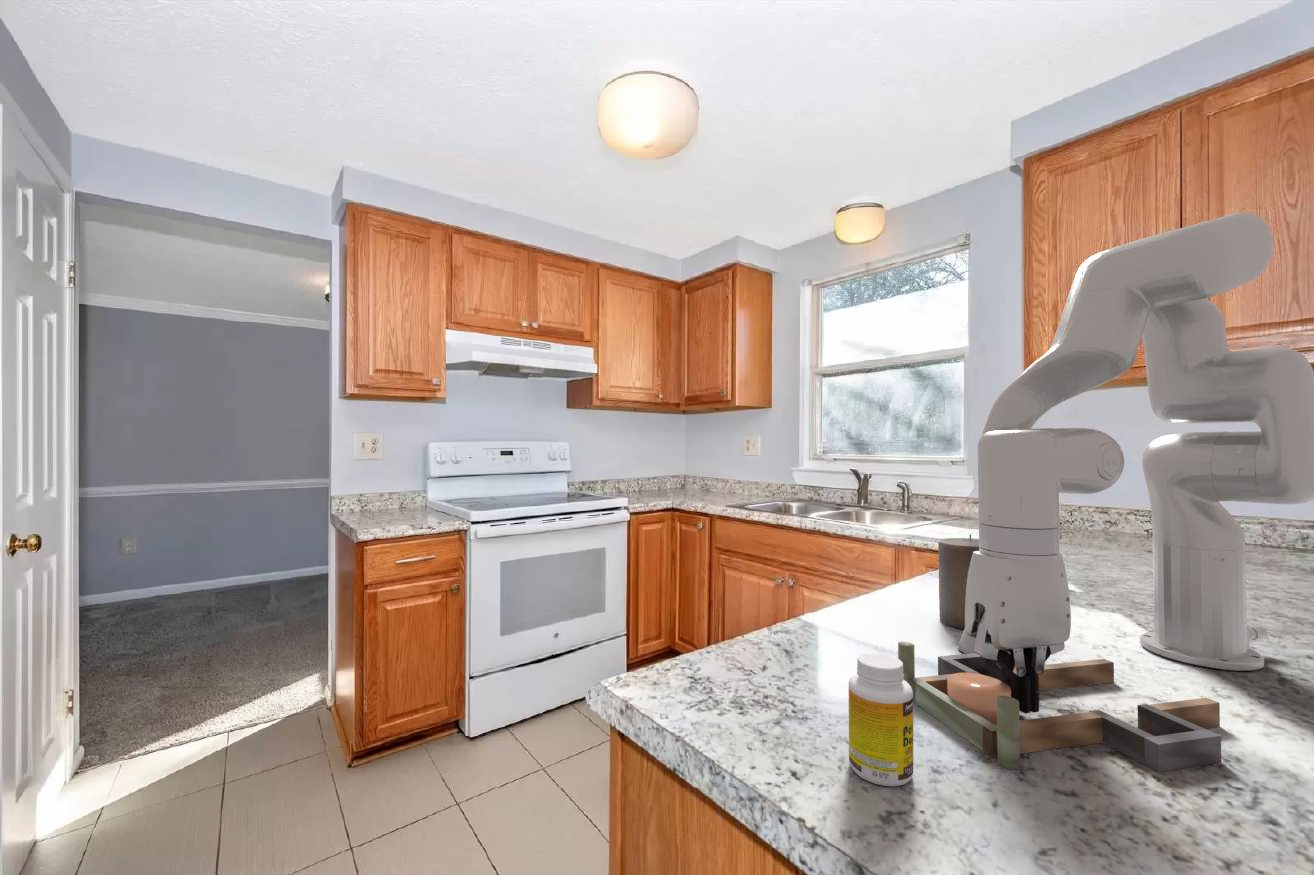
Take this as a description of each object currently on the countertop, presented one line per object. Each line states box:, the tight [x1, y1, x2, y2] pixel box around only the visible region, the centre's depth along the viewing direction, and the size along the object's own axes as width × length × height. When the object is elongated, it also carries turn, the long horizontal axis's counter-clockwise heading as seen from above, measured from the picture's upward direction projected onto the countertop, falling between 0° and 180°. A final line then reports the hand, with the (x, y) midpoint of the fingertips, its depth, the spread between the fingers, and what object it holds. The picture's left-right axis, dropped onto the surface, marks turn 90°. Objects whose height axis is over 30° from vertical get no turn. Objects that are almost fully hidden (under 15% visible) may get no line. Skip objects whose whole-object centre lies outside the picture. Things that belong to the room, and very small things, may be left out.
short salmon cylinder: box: [947, 673, 1011, 724], centre depth 61 cm, size 6×6×4 cm
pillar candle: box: [937, 533, 979, 630], centre depth 94 cm, size 10×10×15 cm
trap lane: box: [897, 641, 1222, 773], centre depth 62 cm, size 28×23×6 cm
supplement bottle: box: [848, 652, 914, 787], centre depth 51 cm, size 6×6×10 cm
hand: (1020, 706), depth 61 cm, fingers closed
